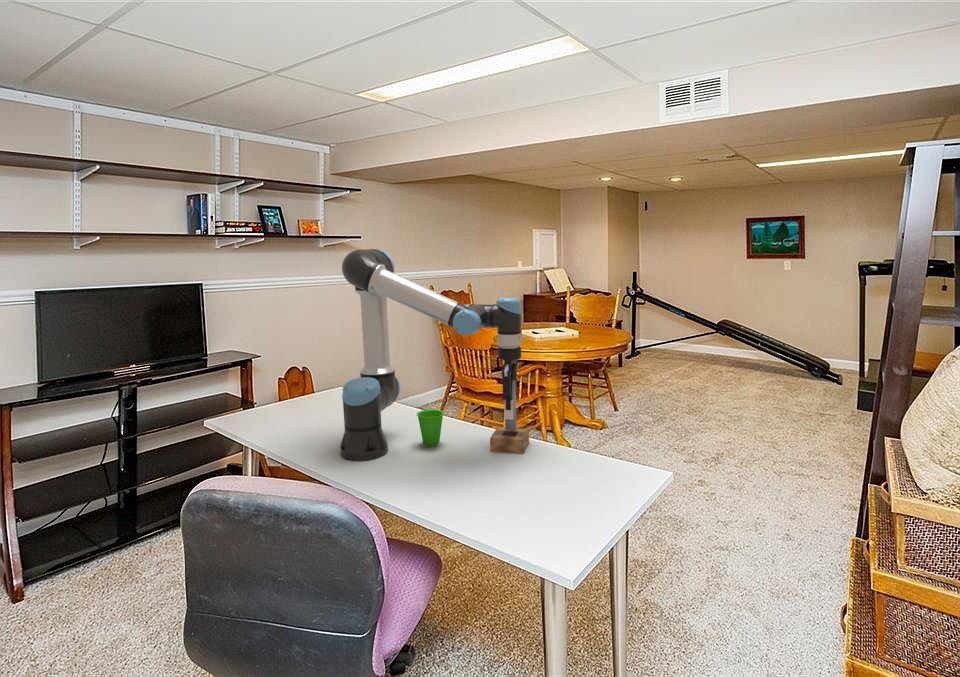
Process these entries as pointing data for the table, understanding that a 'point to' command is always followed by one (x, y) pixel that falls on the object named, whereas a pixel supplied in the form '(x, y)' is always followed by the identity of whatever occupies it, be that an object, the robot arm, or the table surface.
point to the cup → (430, 426)
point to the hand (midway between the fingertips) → (510, 416)
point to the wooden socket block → (509, 440)
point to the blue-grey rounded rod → (509, 423)
